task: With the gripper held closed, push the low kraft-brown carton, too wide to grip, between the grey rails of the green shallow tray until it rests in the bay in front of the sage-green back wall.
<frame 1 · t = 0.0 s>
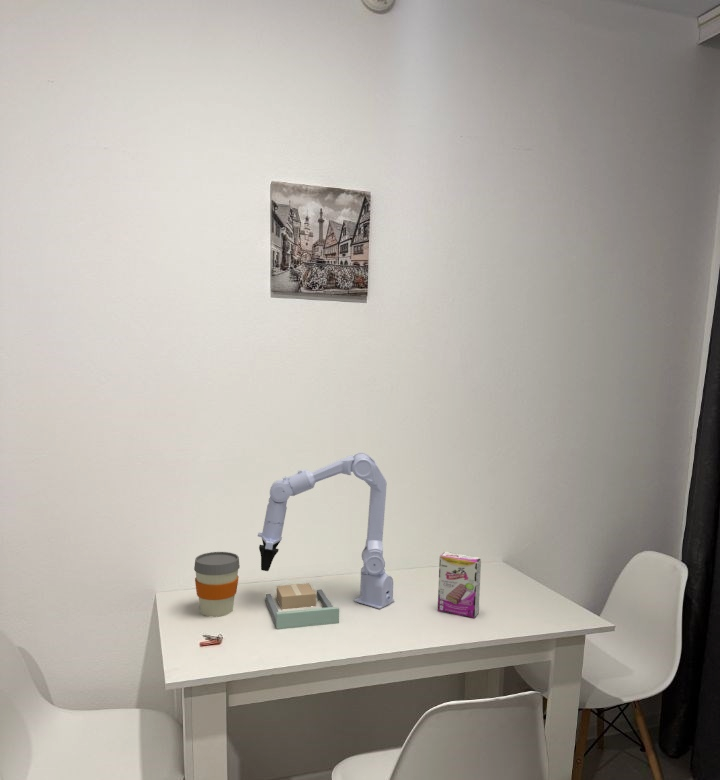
hand: (265, 566, 188), 11 cm above the table, tool pointing down, fingers open, 7 cm apart
candy bar box: (458, 613, 183), on the table
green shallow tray: (302, 615, 179), on the table
reusable coffee cup: (216, 611, 181), on the table
carton: (295, 603, 188), on the table
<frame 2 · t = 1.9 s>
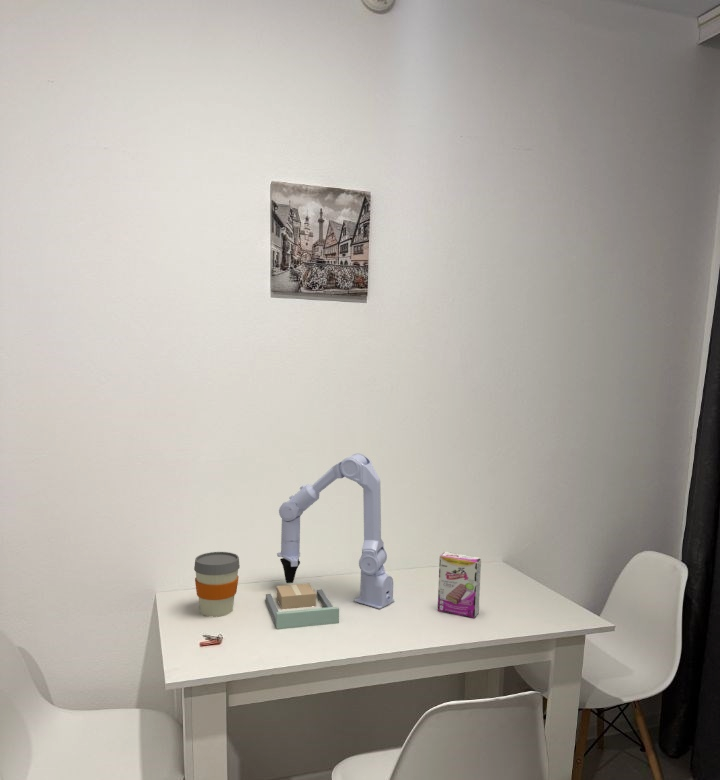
hand: (289, 582, 198), 2 cm above the table, tool pointing down, fingers closed
nothing on the table moved.
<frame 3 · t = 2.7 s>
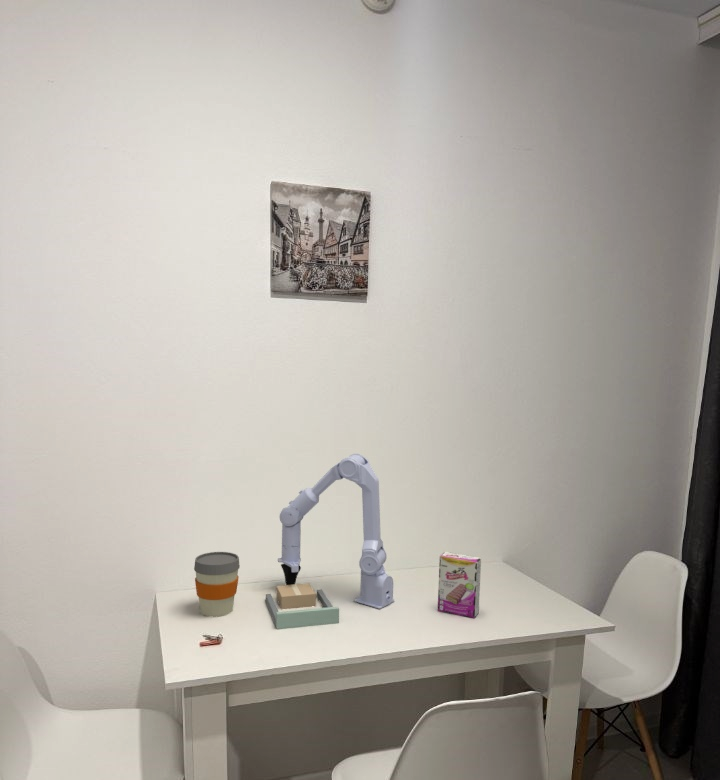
hand: (290, 587, 197), 1 cm above the table, tool pointing down, fingers closed
nothing on the table moved.
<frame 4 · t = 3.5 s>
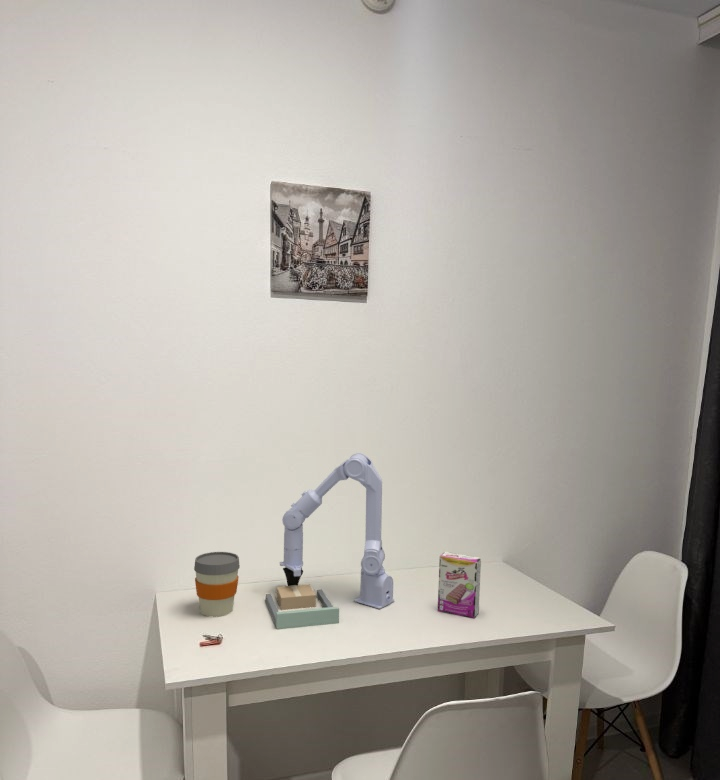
hand: (292, 592, 193), 1 cm above the table, tool pointing down, fingers closed
nothing on the table moved.
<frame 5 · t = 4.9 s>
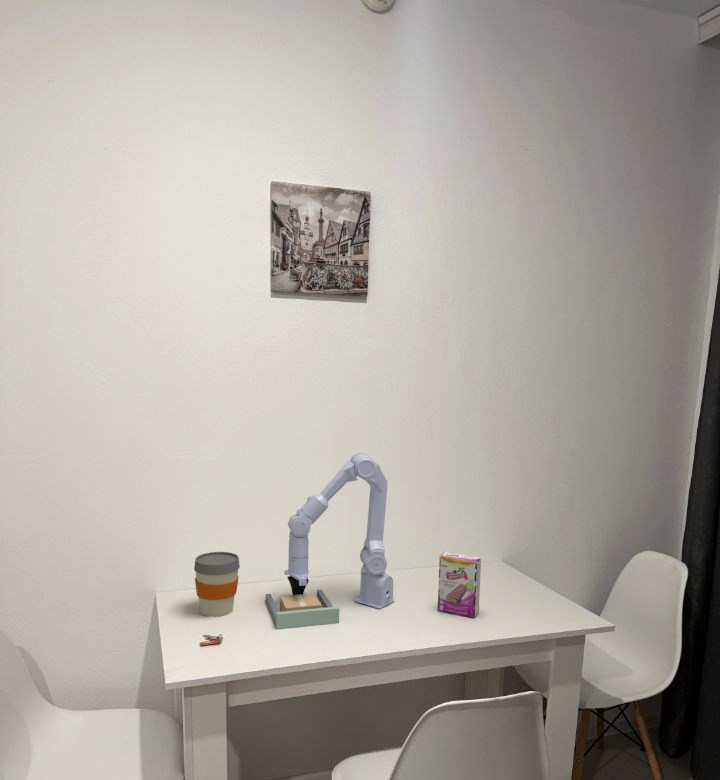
hand: (297, 601, 186), 1 cm above the table, tool pointing down, fingers closed
carton: (300, 614, 180), on the table
everything else where it was.
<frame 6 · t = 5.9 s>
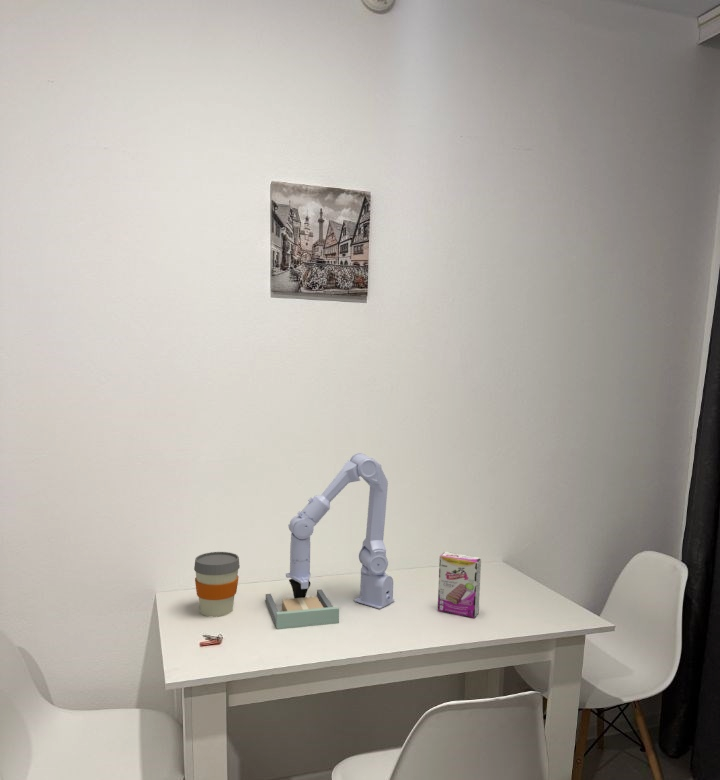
hand: (299, 604, 183), 1 cm above the table, tool pointing down, fingers closed
carton: (302, 617, 178), on the table
everything else where it was.
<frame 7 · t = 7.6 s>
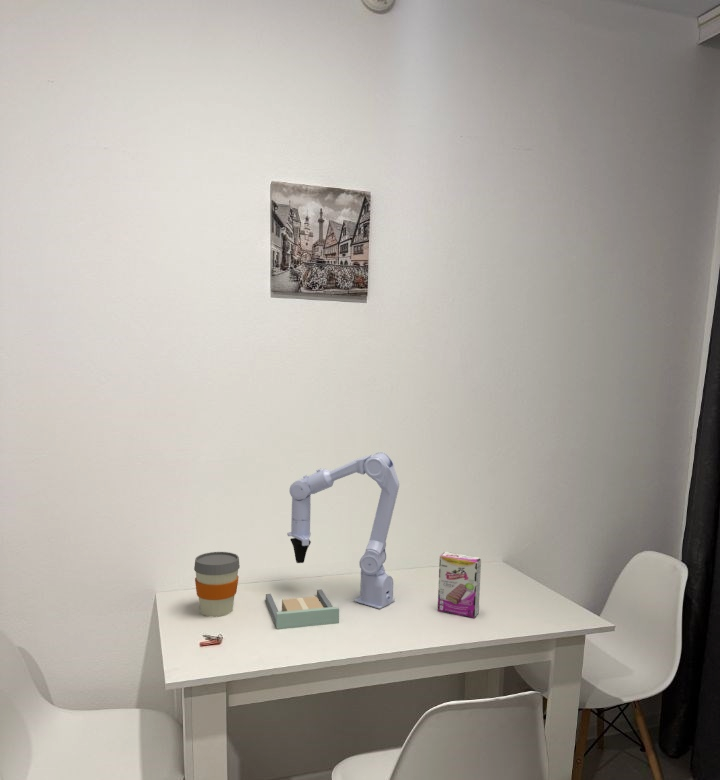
hand: (299, 562, 195), 9 cm above the table, tool pointing down, fingers closed
nothing on the table moved.
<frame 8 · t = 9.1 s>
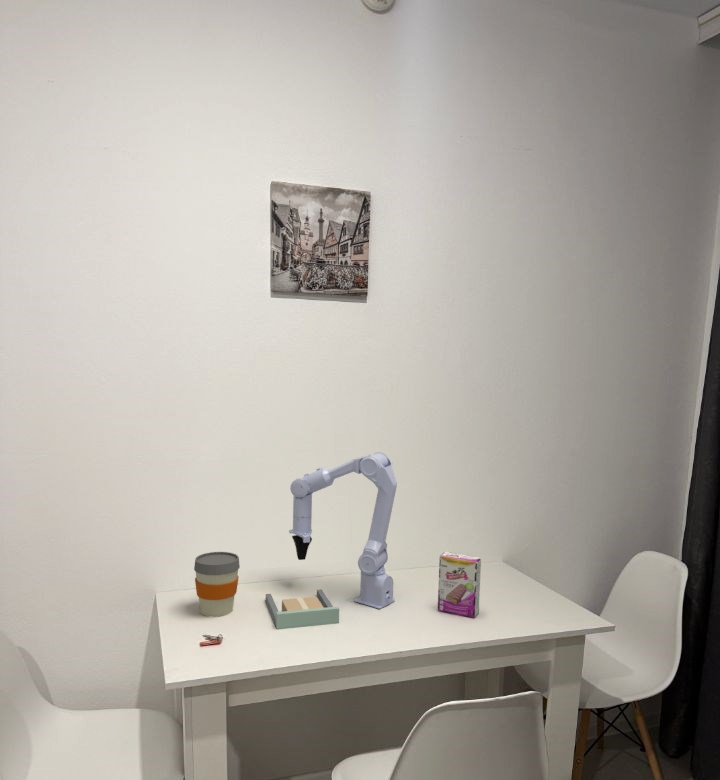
hand: (301, 559, 199), 9 cm above the table, tool pointing down, fingers closed
nothing on the table moved.
at the end: carton 1.0 cm from the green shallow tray (horizontally); carton tilted 0°; carton moved 11.0 cm from its start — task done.
